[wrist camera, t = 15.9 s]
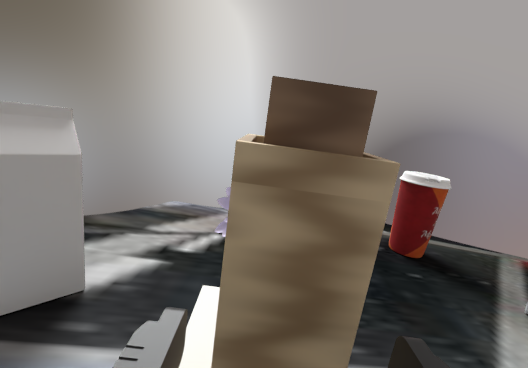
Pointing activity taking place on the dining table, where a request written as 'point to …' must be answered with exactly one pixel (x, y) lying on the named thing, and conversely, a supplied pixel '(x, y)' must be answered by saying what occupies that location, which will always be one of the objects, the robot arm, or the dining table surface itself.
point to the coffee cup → (417, 212)
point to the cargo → (319, 116)
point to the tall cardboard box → (298, 254)
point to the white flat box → (201, 330)
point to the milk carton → (39, 206)
